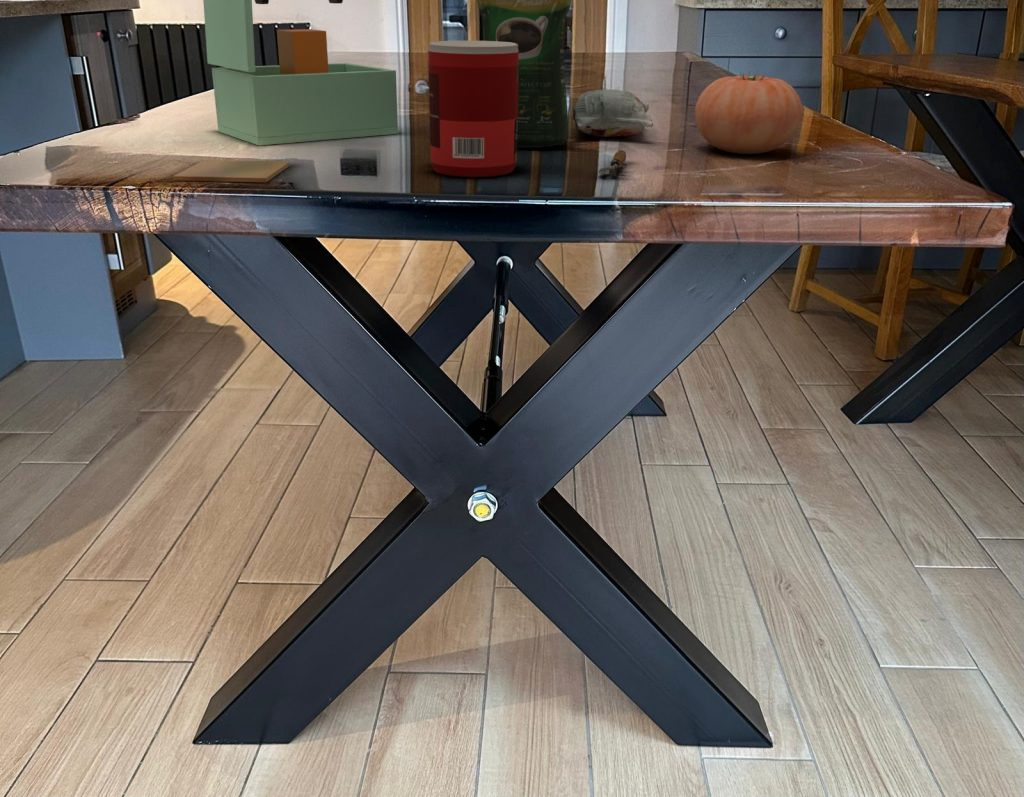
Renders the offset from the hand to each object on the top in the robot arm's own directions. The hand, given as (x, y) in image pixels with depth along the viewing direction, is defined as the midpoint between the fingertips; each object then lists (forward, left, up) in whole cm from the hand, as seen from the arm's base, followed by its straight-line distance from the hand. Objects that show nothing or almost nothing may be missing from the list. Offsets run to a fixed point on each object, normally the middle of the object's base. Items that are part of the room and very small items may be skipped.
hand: (299, 3), depth 102 cm
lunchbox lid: (-8, 0, +2) cm, 8 cm away
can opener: (+14, -36, -14) cm, 41 cm away
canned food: (+3, -29, -14) cm, 32 cm away
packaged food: (+29, -19, -14) cm, 37 cm away
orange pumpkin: (+33, -35, -14) cm, 50 cm away
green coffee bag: (+16, -19, -14) cm, 28 cm away
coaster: (-16, -19, -14) cm, 28 cm away
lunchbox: (0, 0, -14) cm, 14 cm away
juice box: (0, 0, -13) cm, 13 cm away
